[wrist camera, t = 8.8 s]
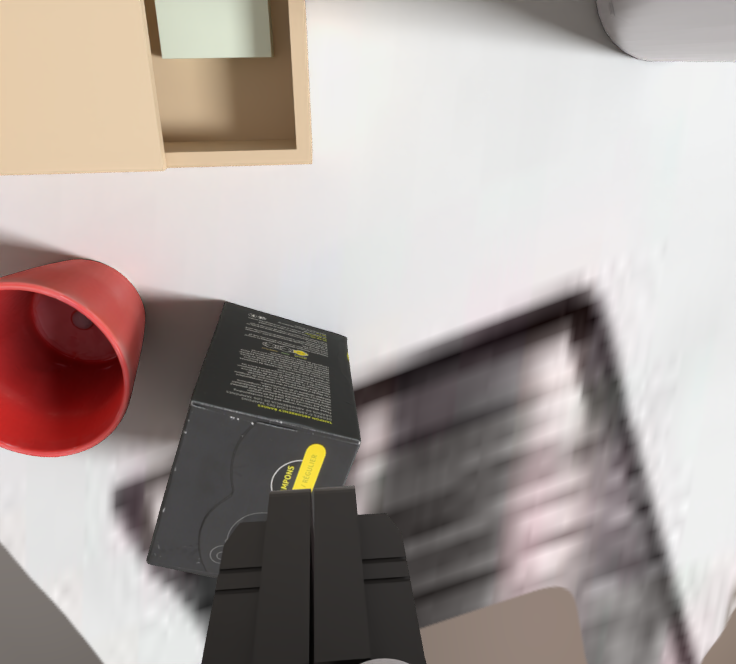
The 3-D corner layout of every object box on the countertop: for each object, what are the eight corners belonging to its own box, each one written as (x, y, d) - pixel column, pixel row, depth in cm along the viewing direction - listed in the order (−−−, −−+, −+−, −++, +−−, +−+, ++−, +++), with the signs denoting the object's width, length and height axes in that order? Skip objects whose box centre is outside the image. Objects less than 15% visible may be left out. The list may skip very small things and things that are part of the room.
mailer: (298, -132, 35) (295, -169, 29) (312, 150, 41) (312, 163, 35) (-82, -134, 33) (-160, -172, 28) (-11, 158, 39) (-64, 173, 34)
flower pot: (33, 391, 46) (-35, 470, 37) (-17, 244, 41) (-107, 294, 32) (181, 374, 46) (149, 449, 37) (147, 227, 42) (101, 271, 33)
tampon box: (308, 455, 50) (305, 601, 36) (190, 427, 48) (142, 569, 34) (351, 332, 46) (366, 444, 32) (225, 297, 44) (186, 400, 31)
